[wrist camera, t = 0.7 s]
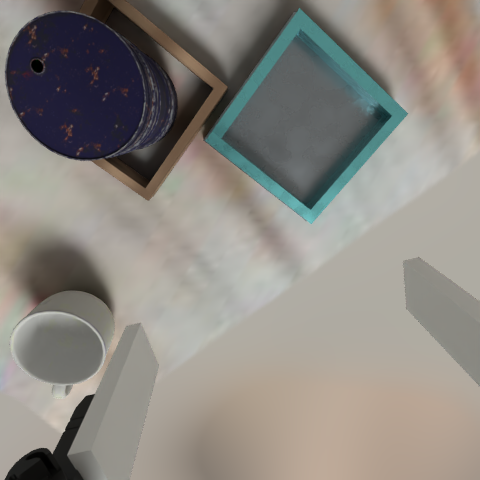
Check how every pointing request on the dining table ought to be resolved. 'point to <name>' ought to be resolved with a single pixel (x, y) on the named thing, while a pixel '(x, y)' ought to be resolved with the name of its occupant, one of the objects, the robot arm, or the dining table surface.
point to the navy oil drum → (86, 88)
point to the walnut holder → (100, 7)
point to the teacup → (63, 340)
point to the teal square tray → (305, 119)
